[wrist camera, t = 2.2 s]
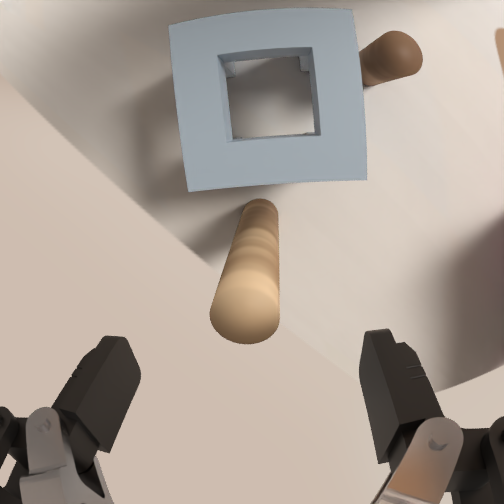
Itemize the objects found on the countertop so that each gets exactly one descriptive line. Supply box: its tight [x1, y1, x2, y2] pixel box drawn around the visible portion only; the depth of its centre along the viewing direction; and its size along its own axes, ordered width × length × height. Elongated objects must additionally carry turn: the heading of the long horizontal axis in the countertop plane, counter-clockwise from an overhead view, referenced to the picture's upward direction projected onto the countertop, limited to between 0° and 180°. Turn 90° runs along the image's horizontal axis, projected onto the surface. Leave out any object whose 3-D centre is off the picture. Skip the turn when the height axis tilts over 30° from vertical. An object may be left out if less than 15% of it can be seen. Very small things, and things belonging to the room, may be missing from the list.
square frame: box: [168, 8, 367, 192], centre depth 15 cm, size 8×8×8 cm
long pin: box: [210, 199, 280, 344], centre depth 16 cm, size 3×3×12 cm
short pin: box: [359, 31, 423, 86], centre depth 14 cm, size 3×3×6 cm
